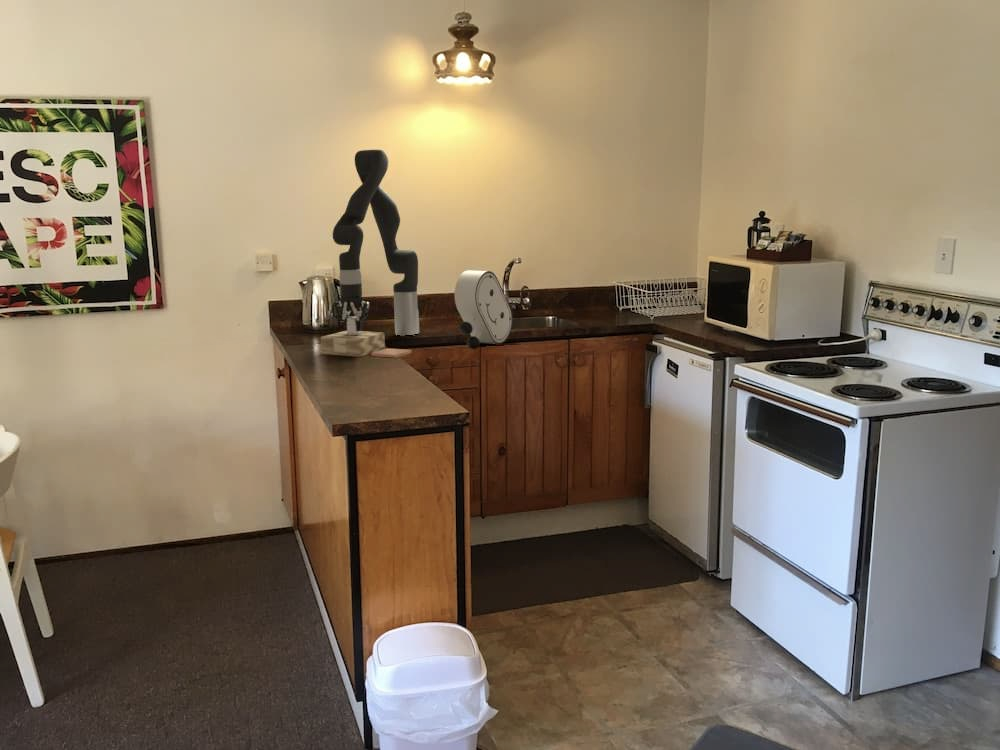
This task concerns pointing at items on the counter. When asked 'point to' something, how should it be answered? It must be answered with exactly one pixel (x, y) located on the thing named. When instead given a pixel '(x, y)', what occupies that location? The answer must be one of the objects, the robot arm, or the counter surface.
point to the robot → (482, 308)
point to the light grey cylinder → (352, 326)
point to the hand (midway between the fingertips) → (353, 330)
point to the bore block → (352, 343)
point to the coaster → (391, 353)
